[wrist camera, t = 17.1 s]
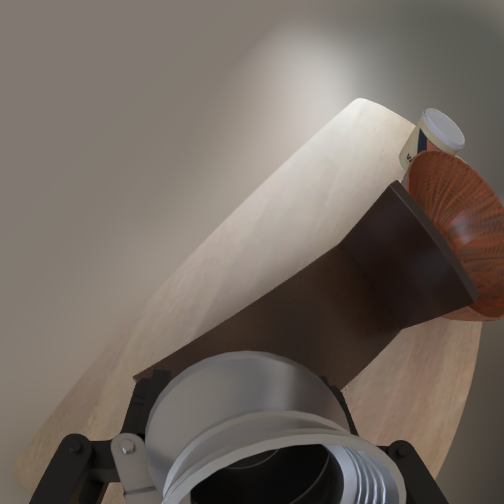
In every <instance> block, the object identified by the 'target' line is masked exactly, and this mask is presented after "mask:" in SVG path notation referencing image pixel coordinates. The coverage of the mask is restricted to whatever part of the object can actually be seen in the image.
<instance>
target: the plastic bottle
mask: <svg viewBox="0 0 504 504" xmlns="http://www.w3.org/2000/svg"><path fill="white" fill-rule="evenodd" d="M145 454H146V460H147V465H148V470H149V474H150V477H151V479H152V481H153V483H154V485H155V487H156V489H157V490H158V492H159V493H160V494H161V495H162V496H163V501H162V503H161V504H406V489H405V484H404V479H403V477H402V475H401V473H400V471H399V469H398V467H397V465H396V464H395V463H394V462H393V461H392V460H391V459H390V458H389V457H388V456H387V454H386V453H385V452H383V451H381V450H380V449H379V448H378V447H377V446H375V445H373V444H372V443H370V442H368V441H367V440H365V439H363V438H361V437H358V436H355V435H352V434H350V428H349V425H348V422H347V419H346V416H345V413H344V411H343V409H342V407H341V406H340V404H339V402H338V401H337V399H336V397H335V396H334V394H333V393H332V392H331V390H330V389H329V388H328V387H327V386H326V385H325V384H324V383H323V381H322V380H321V379H320V378H319V377H318V376H317V375H315V374H314V373H313V372H311V371H310V370H309V369H307V368H306V367H305V366H303V365H301V364H299V363H297V362H295V361H293V360H291V359H288V358H286V357H283V356H279V355H275V354H272V353H268V352H258V351H237V352H227V353H223V354H219V355H216V356H212V357H209V358H206V359H204V360H202V361H200V362H198V363H196V364H194V365H192V366H190V367H188V368H186V369H185V370H184V371H183V372H181V373H180V374H179V375H178V376H176V377H175V378H174V379H172V380H171V381H170V383H169V384H168V385H167V386H166V387H165V389H164V390H163V391H162V392H161V393H160V394H159V396H158V398H157V400H156V402H155V404H154V405H153V407H152V409H151V411H150V414H149V418H148V422H147V425H146V429H145ZM331 470H332V472H333V476H332V483H331V487H330V490H329V492H328V495H327V497H326V499H325V500H324V502H323V503H322V492H323V491H324V489H325V486H326V483H327V480H328V477H329V475H330V472H331Z"/></svg>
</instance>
